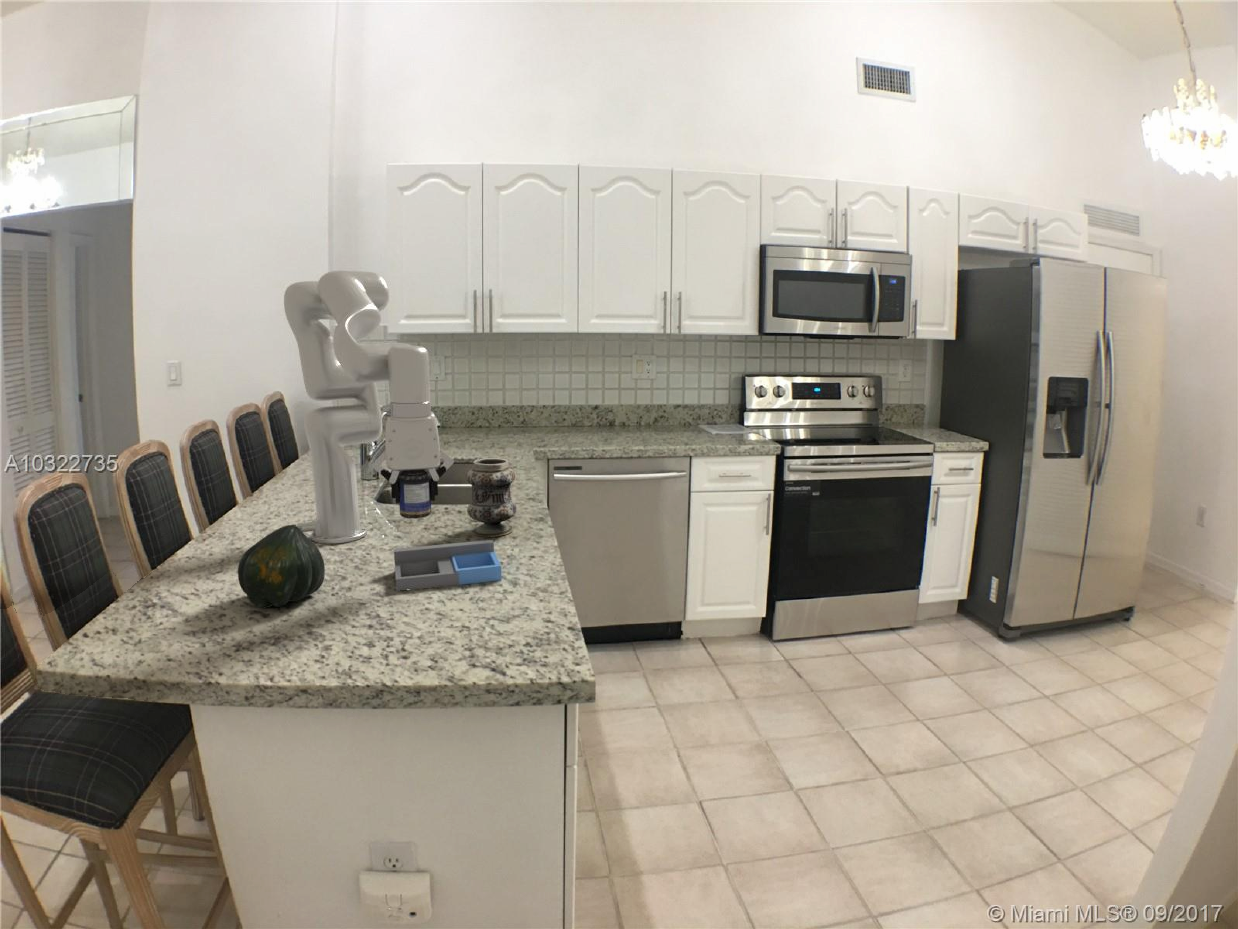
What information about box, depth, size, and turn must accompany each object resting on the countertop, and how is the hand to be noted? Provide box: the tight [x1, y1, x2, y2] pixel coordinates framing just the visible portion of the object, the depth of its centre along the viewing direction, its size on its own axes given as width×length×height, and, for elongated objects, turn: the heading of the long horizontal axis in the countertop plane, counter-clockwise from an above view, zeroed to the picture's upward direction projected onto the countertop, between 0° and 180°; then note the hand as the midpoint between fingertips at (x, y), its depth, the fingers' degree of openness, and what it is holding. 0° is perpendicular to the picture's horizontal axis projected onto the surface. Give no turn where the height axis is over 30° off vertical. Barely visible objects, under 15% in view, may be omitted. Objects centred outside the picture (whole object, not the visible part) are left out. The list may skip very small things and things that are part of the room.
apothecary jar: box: [466, 457, 517, 538], centre depth 175 cm, size 12×12×18 cm
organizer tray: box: [393, 539, 503, 592], centre depth 146 cm, size 20×12×5 cm, turn 108°
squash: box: [237, 523, 326, 609], centre depth 133 cm, size 14×15×15 cm
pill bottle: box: [397, 469, 432, 519], centre depth 140 cm, size 6×6×11 cm
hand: (415, 499), depth 141 cm, fingers closed on pill bottle, 6 cm apart
